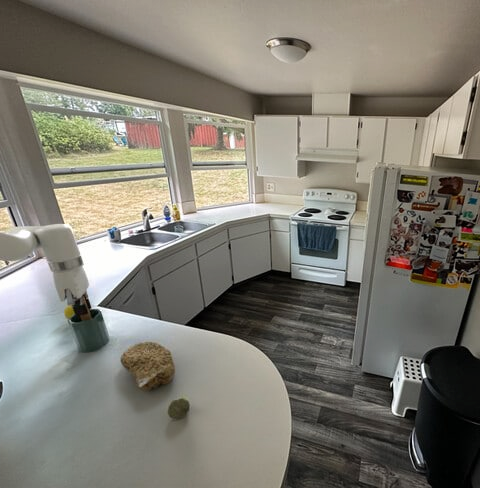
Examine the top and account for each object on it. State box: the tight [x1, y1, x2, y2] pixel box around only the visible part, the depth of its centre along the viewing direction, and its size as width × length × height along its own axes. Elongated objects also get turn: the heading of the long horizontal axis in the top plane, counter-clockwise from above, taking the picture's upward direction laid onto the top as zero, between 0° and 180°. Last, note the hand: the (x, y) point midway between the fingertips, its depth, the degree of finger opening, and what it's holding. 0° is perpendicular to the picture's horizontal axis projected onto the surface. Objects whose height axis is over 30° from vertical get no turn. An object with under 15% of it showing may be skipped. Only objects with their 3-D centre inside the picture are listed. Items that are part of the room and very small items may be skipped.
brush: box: [75, 296, 92, 322], centre depth 86 cm, size 4×4×16 cm
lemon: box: [63, 305, 75, 320], centre depth 100 cm, size 6×6×8 cm
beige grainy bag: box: [120, 341, 176, 392], centre depth 79 cm, size 13×8×20 cm
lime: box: [167, 396, 191, 421], centre depth 66 cm, size 4×5×5 cm
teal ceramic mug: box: [67, 308, 111, 353], centre depth 88 cm, size 8×8×12 cm
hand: (83, 311), depth 85 cm, fingers closed on brush, 2 cm apart
